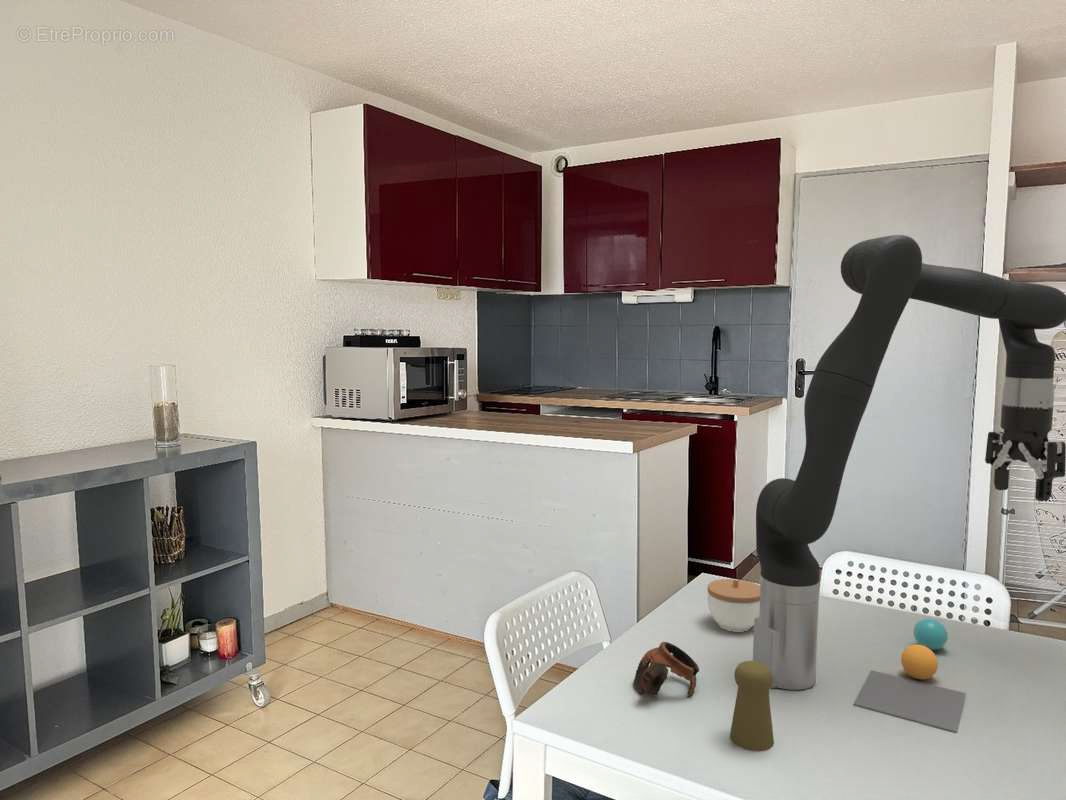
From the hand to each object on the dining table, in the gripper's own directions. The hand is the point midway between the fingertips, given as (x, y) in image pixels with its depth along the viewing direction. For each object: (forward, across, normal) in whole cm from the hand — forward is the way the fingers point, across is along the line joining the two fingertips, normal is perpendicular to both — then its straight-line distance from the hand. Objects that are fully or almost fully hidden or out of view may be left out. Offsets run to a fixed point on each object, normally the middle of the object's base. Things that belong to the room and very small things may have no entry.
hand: (1021, 494), depth 131 cm
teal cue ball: (+26, -5, -13) cm, 30 cm away
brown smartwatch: (+30, +1, -67) cm, 73 cm away
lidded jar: (+29, -21, -43) cm, 56 cm away
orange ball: (+26, +5, -23) cm, 35 cm away
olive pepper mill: (+29, +17, -60) cm, 69 cm away
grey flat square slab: (+29, +11, -30) cm, 43 cm away
